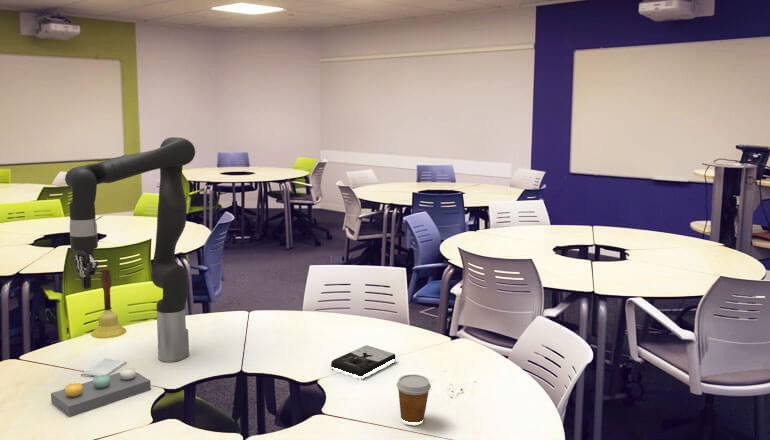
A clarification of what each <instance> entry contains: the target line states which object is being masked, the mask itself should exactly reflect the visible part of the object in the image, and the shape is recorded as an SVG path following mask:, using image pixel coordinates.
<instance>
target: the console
mask: <svg viewBox="0 0 770 440" xmlns="http://www.w3.org/2000/svg"><path fill="white" fill-rule="evenodd" d="M135 372H136V376H135V377H134V378H131V379H121V378H120V371H119V372H117V373H112V374H110V375H109V376H110V384H109V385H108V386H106V387H101V388H97V387H94V382H93V380H89V381H86V382H83V383H81V384H82V389H83V392H82V393H81V394H80V395H77V396H66V394H65V388H64V389H59V390H57V391H54V392H50V399H51V400H50V401H51V404H52V405H54V407H56V409H57V408H58V409H59V410H60V411H61V412H63V413H64V414H65V415H67V416H68V417H73V416H76V415H79V414H82V413H85V412H88V411H91V410H93V409H97V408H99V407H103V406H105V405H108V404H111V403H115V402H117V401H121V400H123V399H126V398H130V397H133V396H136V395H139V394H141V393H145V392H148V391H150V390H152V387H151V379H149V378H147V377H145V376H144V375H142V374H140V373H138V372H137V371H135Z"/></svg>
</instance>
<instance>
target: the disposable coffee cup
mask: <svg viewBox="0 0 770 440" xmlns="http://www.w3.org/2000/svg"><path fill="white" fill-rule="evenodd" d="M429 381H430V380H429V379H428V378H427V376H423V375H420V374H405V375H402V376H401V377H399V378H398V380H397V382H396V388H397V389H398V390H397V391H398V400H399V401H398V402H399V408H400V409H399V411H400V419H401V418H402V419H403V420H405V421H408V422H420V421H422V420H423V419H424V420H425V415H426V409H427V404H428V403H427V402H428V397H429V393H430V390H431V387H432V384H431V382H429Z"/></svg>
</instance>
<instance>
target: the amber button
mask: <svg viewBox="0 0 770 440" xmlns="http://www.w3.org/2000/svg"><path fill="white" fill-rule="evenodd" d="M82 384H83V383H81V382H73V383H69V384H67V385H66V386H65V387H64V389H65V394H66V396H77V395H80V394H81V393H82V392H83V389H82Z"/></svg>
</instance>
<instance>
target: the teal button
mask: <svg viewBox="0 0 770 440" xmlns="http://www.w3.org/2000/svg"><path fill="white" fill-rule="evenodd" d="M92 381H93V382H94V387H97V388H101V387H106V386H108V385H109V384H110V376H108V375H99V376H96V377H94V378H93V379H92Z"/></svg>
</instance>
